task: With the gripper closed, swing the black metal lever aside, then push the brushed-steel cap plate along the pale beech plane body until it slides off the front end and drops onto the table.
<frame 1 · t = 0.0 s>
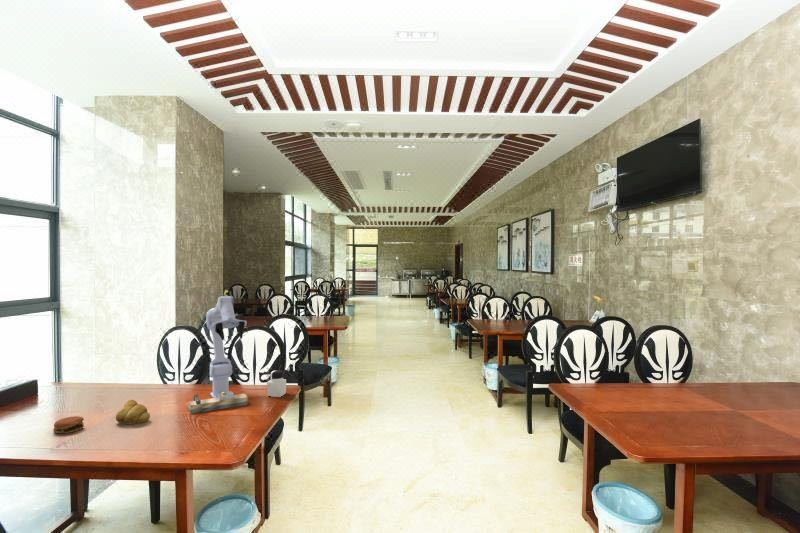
hand: (232, 337, 187), 32 cm above the table, tool tilted 50°, fingers open, 7 cm apart
grey padlock: (276, 395, 211), on the table
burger: (69, 430, 164), on the table
lever: (196, 403, 187), point 3 cm above the table, hinge at 0.0°
lever cap: (225, 398, 194), point 3 cm above the table, touching plane body
bread roll: (133, 422, 173), on the table
plane body: (218, 407, 192), on the table
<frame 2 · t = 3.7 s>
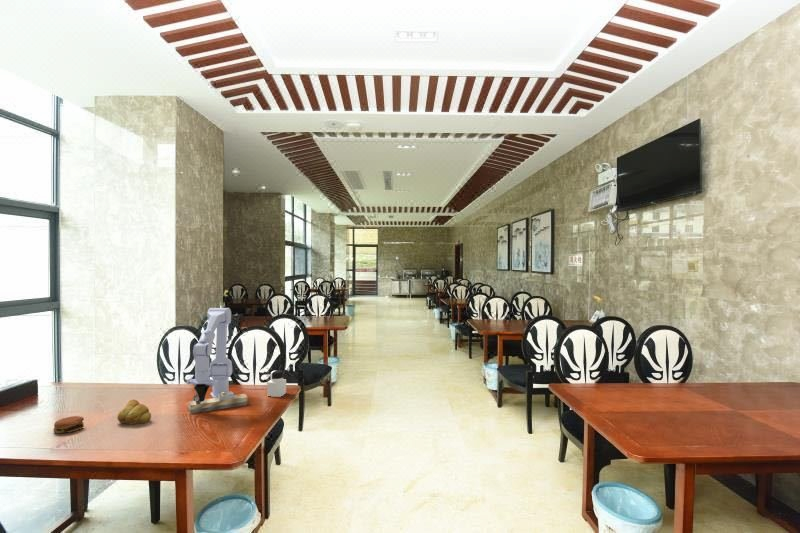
hand: (201, 401, 186), 4 cm above the table, tool pointing down, fingers closed, pressing on lever
lever: (196, 403, 187), point 3 cm above the table, hinge at 0.4°, touching gripper
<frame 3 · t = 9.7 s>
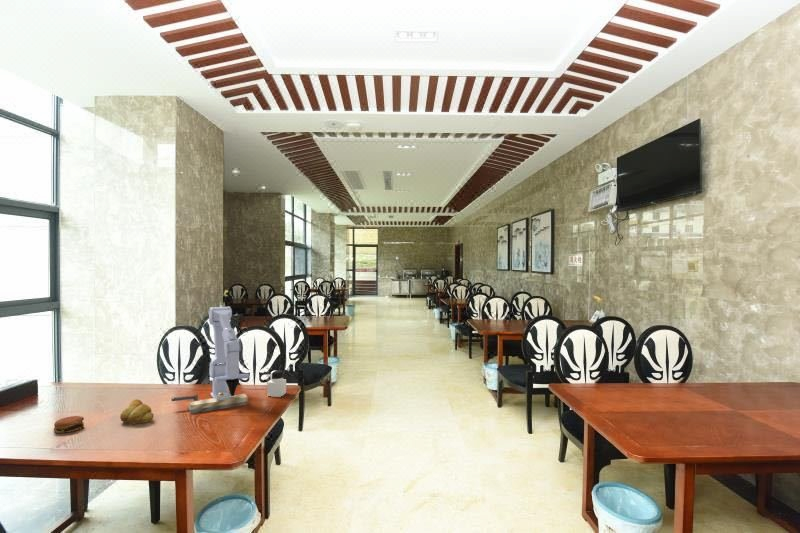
hand: (232, 395, 195), 4 cm above the table, tool pointing down, fingers closed
lever: (184, 401, 189), point 3 cm above the table, hinge at 97.8°
lever cap: (222, 398, 193), point 3 cm above the table, touching gripper, plane body
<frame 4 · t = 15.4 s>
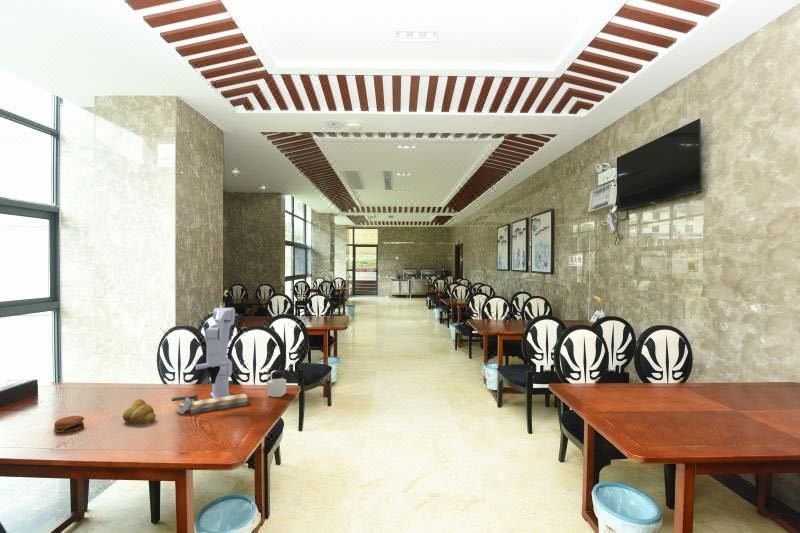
hand: (213, 383, 194), 10 cm above the table, tool pointing down, fingers closed
lever cap: (186, 406, 185), point 2 cm above the table, tilted 50°, touching plane body
at the end: lever at +98° (first picture: +0°); lever cap inside the target area (11.5 cm from its centre), point 2.3 cm above the table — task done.
